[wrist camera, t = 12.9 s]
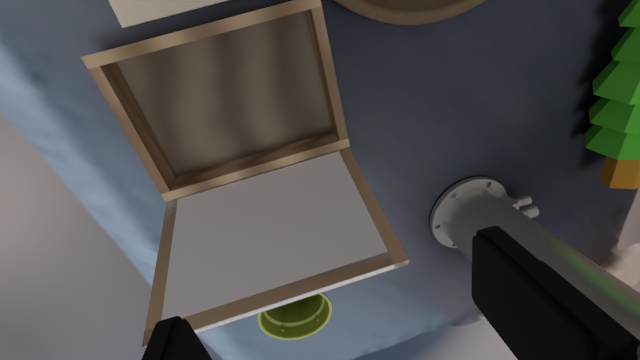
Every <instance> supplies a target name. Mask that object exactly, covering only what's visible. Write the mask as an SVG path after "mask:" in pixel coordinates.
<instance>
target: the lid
mask: <svg viewBox="0 0 640 360" xmlns="http://www.w3.org/2000/svg"><path fill="white" fill-rule="evenodd" d="M408 264H409V258H408V256H407V254H406V253H405V251H404V249H403V247H402V245H401V243H400V242H399V240H398V238H397V236H396V234H395V232H394V230H393V229H392V227H391V225H390V223H389V221H388V219H387V217H386V216H385V214H384V212H383V210H382V208H381V206H380V205H379V203H378V201H377V199H376V197H375V195H374V193H373V192H372V190H371V188H370V186H369V184H368V182H367V180H366V179H365V177H364V175H363V173H362V171H361V169H360V167H359V166H358V164H357V162H356V160H355V158H354V156H353V155H352V153H351V151H350V149H349V148H347V149H344V150H341V151H337V152H334V153H331V154H327V155H324V156H321V157H318V158H314V159H311V160H308V161H304V162H301V163H298V164H294V165H291V166H288V167H284V168H281V169H278V170H274V171H271V172H268V173H264V174H261V175H258V176H254V177H251V178H248V179H244V180H241V181H238V182H234V183H231V184H228V185H224V186H221V187H218V188H214V189H211V190H208V191H204V192H201V193H198V194H194V195H191V196H188V197H184V198H181V199H178V200H174V201H171V202H168V203H167V205H166V211H165V216H164V222H163V228H162V234H161V240H160V245H159V251H158V257H157V263H156V268H155V274H154V280H153V286H152V292H151V298H150V303H149V310H148V315H147V321H146V327H145V332H144V338H143V344H142V347H143V348H145V349H146V347H147V345H148V342H149V340H150V337H151V334H152V332H153V329H154V327H155V325H156V323H157V322H158V321H161V320H164V319H168V318H171V317H175V316H180V317H181V318H182V319H186V320H187V321H188V322H189V324H190V325H191V327H192V329H193V330H194V332H195V333H196V334H197V333H200V332H203V331H206V330H209V329H213V328H216V327H219V326H222V325H225V324H228V323H231V322H234V321H237V320H240V319H243V318H246V317H249V316H252V315H255V314H258V313H261V312H264V311H268V310H271V309H274V308H277V307H280V306H283V305H286V304H289V303H292V302H295V301H298V300H301V299H304V298H307V297H310V296H313V295H316V294H320V293H323V292H326V291H329V290H332V289H335V288H338V287H341V286H344V285H347V284H350V283H353V282H356V281H359V280H362V279H365V278H368V277H371V276H375V275H378V274H381V273H384V272H387V271H390V270H393V269H396V268H399V267H402V266H405V265H408Z"/></svg>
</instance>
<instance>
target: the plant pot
mask: <svg viewBox="0 0 640 360" xmlns="http://www.w3.org/2000/svg"><path fill="white" fill-rule="evenodd" d="M331 313H332V306H331V303H330V300H329V298H328V297H327V296H326V295H325V294H324V293H320V294H316V295H313V296H310V297H307V298H304V299H301V300H298V301H295V302H292V303H289V304H286V305H283V306H280V307H277V308H274V309H271V310H268V311H264V312H261V313H258V324H259V326H260V328H261V329H262V331H263V332H265V333H266V334H267V335H269V336H271V337H273V338H276V339H281V340H295V339H301V338H305V337H308V336H310V335H312V334H314V333H316V332H318V331H319V330H320V329H322V328H323V327H324V326H325V325H326V324H327V322H328V321H329V319H330V316H331Z"/></svg>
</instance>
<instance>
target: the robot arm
mask: <svg viewBox="0 0 640 360" xmlns="http://www.w3.org/2000/svg"><path fill="white" fill-rule="evenodd" d="M530 203H532V199H531V197H530V196H529V195H525V196H522V197H519V198H517V199H513V198H511V197H509V196H508V195H507V192H506V190H505V188H504V187H503V186H502V185H501V184H500V183H498V182H497V181H495V180H493V179H492V178H488V177H482V176H478V177H471V178H468V179H465V180H462V181H460V182H458V183H456V184H455V185H453V186H452V187H450V188H449V189H448V190H447V191H446V192H445V193H443V194H442V196H441V197H440V198H439V199H438V201H437V202H436V204H435V206H434V208H433V210H432V213H431V217H430V228H431V232H432V234H433V235H434V237H435V238H436V239H437V240H438V241H439V242H440V243H441V244H442V245H445V246H447V247H451V248H458V249H459V250H460V251H461V252H462V253H463V254H464V255H465V256H466V257H467V258H468V260H469V261H470V262H471V263H472V298H473V300H474V302H475V304H476V306H477V307H478V308H479V310H480V311H481V312H482V314H483V315H484V316H485V317H486V319H487V320H488V321H489V323H490V324H491V325H492V327H493V328H494V329H495V330H496V332H497V333H498V334H499V336H500V337H501V338H502V339H503V341H504V342H505V343H506V344H507V346H508V347H509V349H510V350H511V351H512V352H513V354H514V355H515V357H516V358H517V359H518V360H640V293H639V292H638V291H636V290H635V289H633V288H632V287H630V286H628V285H627V284H625V283H624V282H622V281H621V280H619V279H618V278H616V277H615V276H613V275H612V274H610V273H609V272H607V271H606V270H604V269H603V268H601V267H600V266H598V265H597V264H596V263H594V262H593V261H591V260H590V259H588V258H587V257H585V256H584V255H582V254H581V253H580V252H578V251H577V250H575V249H574V248H572V247H571V246H570V245H568V244H567V243H565V242H564V241H562V240H561V239H560V238H558V237H557V236H555V235H554V234H552V233H551V232H550V231H548V230H547V229H545V228H544V227H542V226H541V225H540V224H538V223H537V222H535V221H534V220H532V219H531V218H533V217H536V216H538V215H539V210H538V208H537V207H536V206H535V205H533V204H531V205H528V206H525V207H522V208H520V209H519V207H520V206H524V205H527V204H530ZM142 360H212V359H211V357H210V355H209V354H208V352H207V351H206V349H205V348H204V346H203V344H202V343H201V341H200V340H199V338H198V336H197V335H196V333H195V332H194V330H193V329H192V327H191V325H190V324H189V322H188V321H187V320H186V319H182V318H181V317H180V316H175V317H171V318H168V319H164V320H161V321H158V322H157V323H156V325H155V327H154V329H153V332H152V334H151V337H150V340H149V342H148V345H147V347H146V350H145V353H144V355H143V358H142Z"/></svg>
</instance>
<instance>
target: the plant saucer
mask: <svg viewBox="0 0 640 360" xmlns="http://www.w3.org/2000/svg"><path fill="white" fill-rule="evenodd" d="M334 1H335V2H337V3H338V4H340V5H341V6H343V7H345V8H347V9H348V10H350V11H352V12H354V13H356V14H359V15H361V16H363V17H366V18H368V19H372V20H375V21H378V22H382V23H388V24H393V25H423V24H430V23H435V22H439V21H443V20H446V19H449V18H452V17H455V16H457V15H460V14H462V13H464V12H466V11H469V10H471V9H472V8H474V7H476V6H477V5H479V4H481V3H482V2H484V1H486V0H334Z"/></svg>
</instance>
